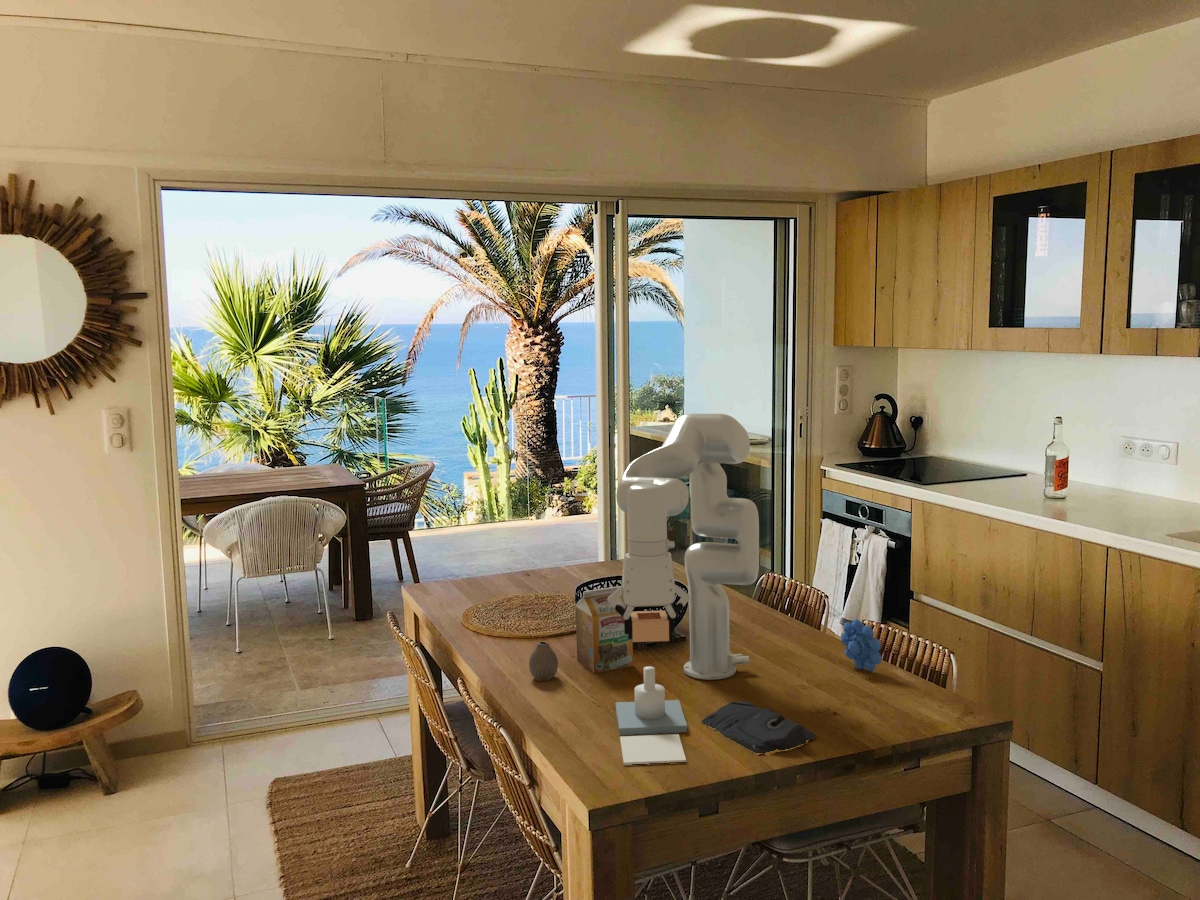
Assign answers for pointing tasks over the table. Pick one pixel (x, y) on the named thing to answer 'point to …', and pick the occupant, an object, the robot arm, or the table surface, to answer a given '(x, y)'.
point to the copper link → (650, 626)
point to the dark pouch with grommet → (757, 727)
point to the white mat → (652, 749)
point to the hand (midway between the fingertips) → (649, 636)
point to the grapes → (861, 645)
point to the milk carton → (601, 632)
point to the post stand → (650, 710)
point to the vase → (543, 662)
